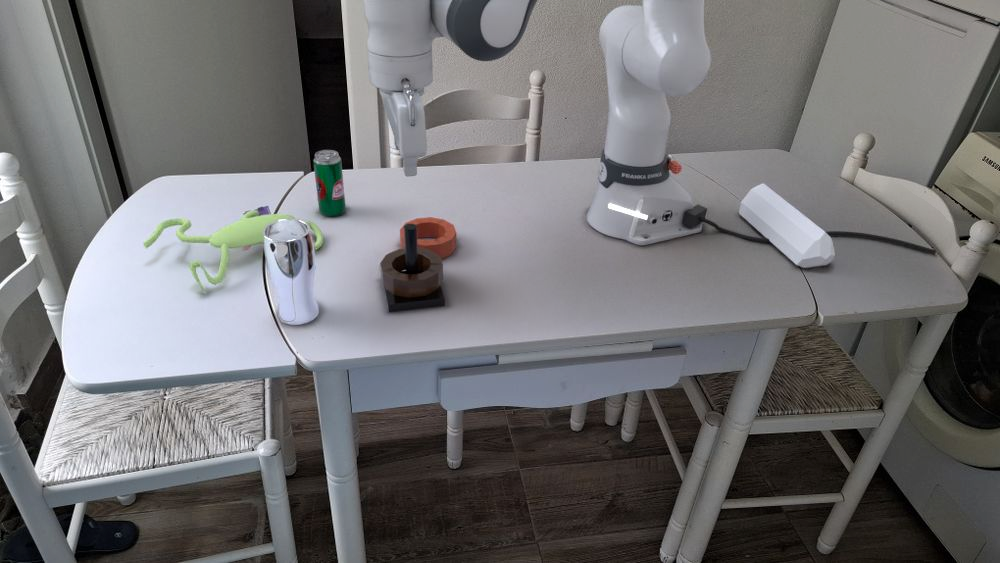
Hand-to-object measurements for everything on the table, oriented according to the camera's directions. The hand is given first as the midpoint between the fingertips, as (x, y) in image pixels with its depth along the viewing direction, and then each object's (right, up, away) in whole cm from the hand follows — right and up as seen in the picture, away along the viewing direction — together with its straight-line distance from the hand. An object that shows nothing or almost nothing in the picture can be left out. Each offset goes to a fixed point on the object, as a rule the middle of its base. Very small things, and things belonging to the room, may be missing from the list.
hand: (405, 160), depth 103 cm
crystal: (+69, -10, +29) cm, 75 cm away
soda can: (-18, -5, +30) cm, 36 cm away
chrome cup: (-17, -23, +3) cm, 29 cm away
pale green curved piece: (-32, -13, +17) cm, 38 cm away
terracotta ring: (+1, -12, +21) cm, 24 cm away
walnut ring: (0, -18, +9) cm, 20 cm away
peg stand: (0, -20, +9) cm, 22 cm away
